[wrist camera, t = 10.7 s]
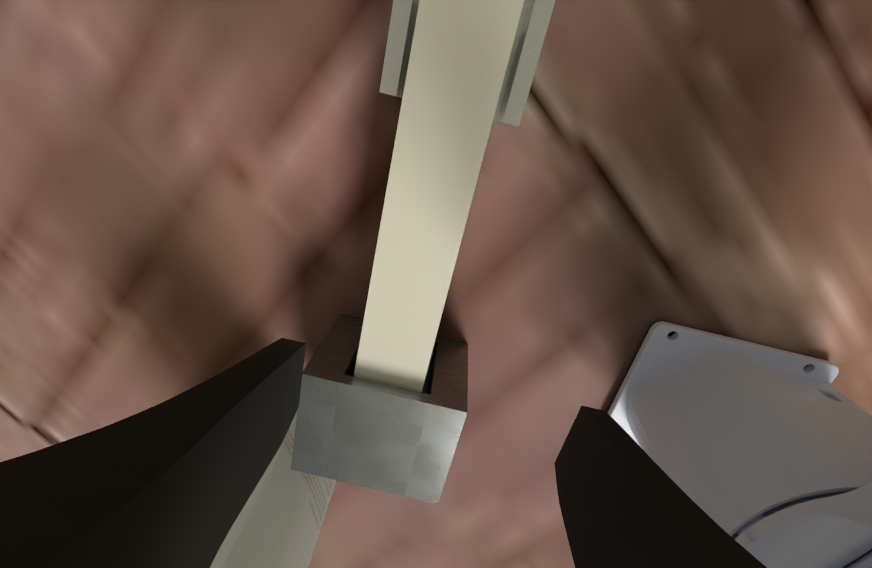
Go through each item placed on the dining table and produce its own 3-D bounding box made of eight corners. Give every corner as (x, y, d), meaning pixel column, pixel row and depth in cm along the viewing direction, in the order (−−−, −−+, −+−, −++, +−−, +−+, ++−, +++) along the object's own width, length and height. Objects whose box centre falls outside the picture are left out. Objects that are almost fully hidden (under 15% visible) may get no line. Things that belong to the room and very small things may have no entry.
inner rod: (511, 27, 15) (524, -1, 12) (423, 367, 22) (414, 419, 18) (434, 8, 15) (423, -26, 12) (369, 354, 22) (348, 403, 18)
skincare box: (212, 392, 24) (-122, 751, 11) (305, 381, 23) (73, 756, 10) (261, 493, 27) (51, 872, 14) (345, 486, 26) (211, 884, 13)
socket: (467, 344, 22) (467, 412, 17) (444, 422, 24) (437, 503, 19) (340, 314, 21) (301, 373, 16) (328, 395, 24) (290, 469, 19)
